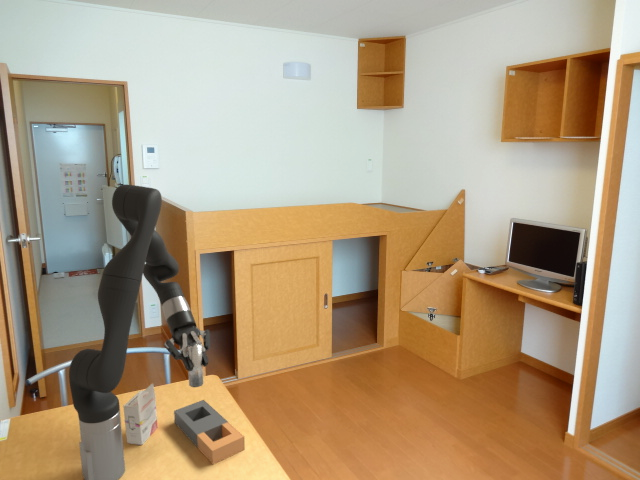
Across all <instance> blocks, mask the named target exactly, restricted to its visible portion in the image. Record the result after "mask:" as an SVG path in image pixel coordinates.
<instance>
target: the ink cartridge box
mask: <svg viewBox="0 0 640 480" xmlns="http://www.w3.org/2000/svg"><path fill="white" fill-rule="evenodd" d="M156 402H157V401H156V393H155V387H154V383H150V385H148V387H146V388H145V389H144V390H139V391H138V392H137V393H136V394H135V395H133V396H132V397H131V398H130V399H129V400H128V401H127V402H125V404H123V416H124V417H123V418H124V425H125V434H126V443H127V444H130V445H141V446H142V445H144V443H145V442H146V441H147V440H148V439H149V438H150V437H151V436H152V434H153V433H154V432H155V431H156V430H157V429H158V416H157V414H158V413H157V403H156Z"/></svg>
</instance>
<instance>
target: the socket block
mask: <svg viewBox="0 0 640 480" xmlns="http://www.w3.org/2000/svg"><path fill="white" fill-rule="evenodd" d="M173 416H174V418H173V419H174V423H175V425H176V426H177V427H178V428H179V429H180V430H181V431H182V432H183V434H184V435H186V437H187V438H188V439H189V440H190V441H191V442H192V443H193V444H194V446H195V447H197V448H198V451H200V452H201V453H202V454H203V455H204V457H206V458H207V459H208V461H209V462H210V463H211V464H212V465H215V464H218V463H219V462H221V461H224V460H226V459H227V458H229V457H231V456H234V455H236V454H238V453H240V452H243V451H244V450H245V449H246V448H245V447H246V445H245V442H246V441H245V435H243V434H242V433H241V431H239V430H238V429H237V428H236V427H234V426H233V425H232V423H230V422H229V421H228V420H227V419H226V418H224V416H223V415H221V414H220V413H219V412H218V411H217V410H216V409H215V408H214V407H213V406H211V405H210V404H209V402H207V401H206V400H205V399H202V400H199V401H196V402H194V403H191V404H189V405H186V406H183V407H181V408H178V409H176V410H173Z"/></svg>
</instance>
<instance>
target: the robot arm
mask: <svg viewBox="0 0 640 480" xmlns="http://www.w3.org/2000/svg"><path fill="white" fill-rule="evenodd" d="M162 201H163V200H162V193H161V191H160V190H159V189H156V188H153V187H149V186H141V185H140V186H139V185H135V184H120V185H118V186H117V187H116V188H115V190H114V191H113V194H112V198H111V208H112V211H113V213H114V215H115V217H116V218H117V220H119V222H120V223H121V225H122V226H123V227H124V228H125V230H126V231H127V233H128V234H129V235H130V236H131V237H130V239H129V240H128V242H127V243H126V244H125V245H124V246H123V247H122V248H121V249H120V250H119V251H118V252H117V253H116V254H115V255H114V256H112V257H111V259H110V260H109V261H108V262H107V264H106V265H105V266H104V268H103V271H102V274H101V278H100V282H99V287H98V289H97V301H98V306H99V307H98V308H99V310H100V314H101V317H102V320H103V321H102V322H103V327H104V334H103V341H102V346H101V349H100V350H99V349H95V348H94V349H93V348H84V349H82V350H80V351H78V352H77V353H76V354H75V355H74V357H73V358H72V360H71V362H70V365H69V370H68V382H69V387H70V393H71V400H72V405H73V408H74V409H75V411H76V412H77V416H78V417H77V418H78V423H79V434H80V441H79V445H78V446H79V453H80V462H81V463H80V464H81V473H82V477H83V479H84V480H119V479H121V477H122V476H123V475H124V474H125V471H126V466H125V465H126V463H125V454H124V442H123V431H122V430H123V429H122V418H121V408H120V399H119V398H118V396H117V395H116V394H114V393H113V391H114V390H115V389H116V388H117V387H118V385H119V383H120V382H121V379H122V378H123V374H124V370H125V366H126V358H127V353H128V344H129V336H130V333H131V332H130V331H131V326H132V322H133V321H132V320H133V317H134V311H135V307H136V302H137V300H138V295H139V292H140V289H141V284H142V280H143V277H144V278H145V280H146V281H147V282H148V283H149V285H150V286H151V287H152V288H153V290H154V291H155V293H156V295H157V297H158V299H159V302H160V305H161V309H162V312H163V317H164V320H165V321H166V325H167V326H168V330H169V332H170V334H171V338H170V339H167V340H166V341H165V342H164V344H163V346H164V348H165V349H166V350H167V352H168V353H169V354H170V355H171V356H172V358H173V359H174V360H175V361H178V360H181V361H182V362H183V366H184V368H185V370H186V371H189V372H190V371H192V370H193V366H192V363H191V361H190V358H189V357H188V350H187V345H188V344H190V343H194V342H198V343H201V344H202V343H203V344H202V363H203V368H205V367H207V366H208V365H209V357H208V355H207V352H208V350H209V349H210V348H211V334H210V329H206V330H200V328H199V327H197V322H196V320H195V318H194V316H193V313H192V310H191V308H190V305H189V303H188V301H187V299H186V297H185V295H184V293H183V290H182V288H181V287H182V286H180V284H179V283H178V282H176V281H170V282H169V281H168V282H164V281H167V280H169V279H172V278H174V277H176V276H177V275H178V274H179V272H180V271H179V270H180V266H179V263H178V261H177V260H176V258H175V257H174V256H173V255H172V254H170V253H169V252H168V250H167V246H166V244H165V241H164V239H163V237H162V236H161V235H160V233H159V232H158V231H157V230H156V227H157V224H158V220H159V218H160V217H159V216H160V213H161V208H162ZM200 337H201V339H202V341H203V342H202V341H201V339H200ZM175 344H176V345H178V346H179V349H178V348H177V347H176V346H175ZM189 372H188V373H189Z"/></svg>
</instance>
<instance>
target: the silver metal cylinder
mask: <svg viewBox="0 0 640 480" xmlns="http://www.w3.org/2000/svg"><path fill="white" fill-rule="evenodd" d="M202 345H203V344H201V343H198V342H194V343H190V344H188V345H187V353H188V357H189V358H190V361H191V363H192V366H193V370H192V371H190V372H189V371H188V370H187V371H188V386H189V387H190V388H191V387H192V388H199V387H202V386H203V384H204V370H203V368H204V367H203V363H202Z"/></svg>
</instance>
